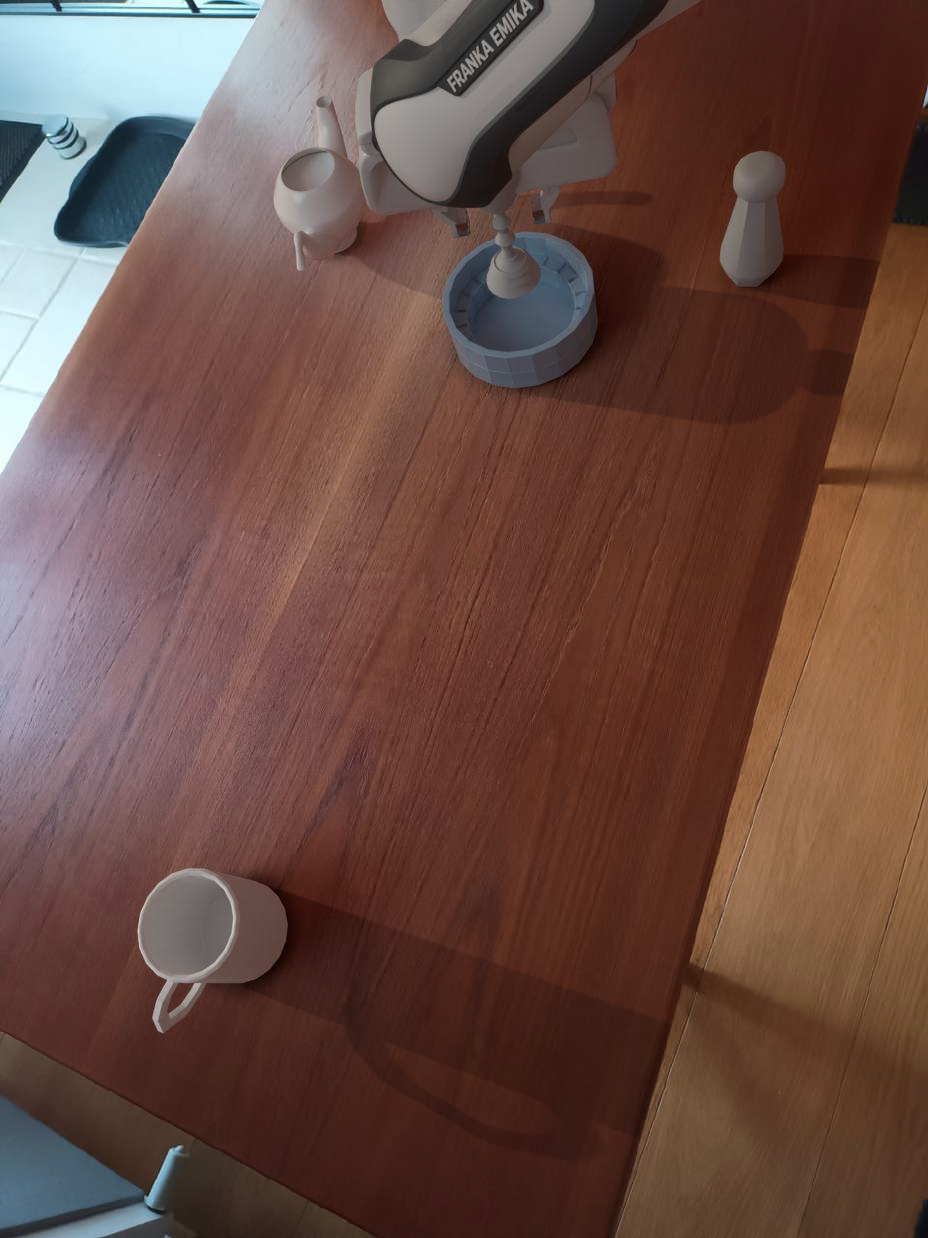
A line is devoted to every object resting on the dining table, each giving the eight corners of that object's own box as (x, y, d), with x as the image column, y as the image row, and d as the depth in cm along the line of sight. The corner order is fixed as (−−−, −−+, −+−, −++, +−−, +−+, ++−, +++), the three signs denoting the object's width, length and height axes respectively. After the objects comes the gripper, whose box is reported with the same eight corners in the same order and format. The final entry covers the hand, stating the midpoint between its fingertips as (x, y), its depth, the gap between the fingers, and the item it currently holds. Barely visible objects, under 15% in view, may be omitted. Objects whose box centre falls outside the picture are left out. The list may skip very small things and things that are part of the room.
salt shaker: (775, 241, 93) (790, 131, 81) (786, 288, 90) (803, 182, 79) (713, 252, 94) (720, 146, 82) (723, 299, 91) (731, 197, 80)
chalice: (467, 304, 88) (419, 146, 71) (483, 244, 90) (440, 78, 73) (545, 308, 86) (514, 148, 69) (559, 247, 88) (533, 77, 71)
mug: (161, 1008, 78) (94, 1012, 69) (221, 867, 82) (165, 853, 72) (244, 1048, 76) (186, 1056, 67) (303, 900, 79) (255, 890, 70)
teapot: (279, 312, 102) (243, 251, 94) (312, 167, 109) (282, 98, 100) (364, 310, 100) (335, 247, 91) (393, 162, 106) (368, 90, 98)
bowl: (592, 260, 96) (588, 220, 91) (603, 380, 91) (599, 344, 86) (453, 282, 99) (441, 244, 94) (455, 400, 94) (443, 367, 89)
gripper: (611, 24, 68) (621, 174, 81) (338, 80, 72) (388, 215, 85) (618, 88, 66) (627, 233, 79) (336, 142, 70) (388, 272, 82)
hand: (501, 224), depth 82 cm, fingers closed on chalice, 5 cm apart
